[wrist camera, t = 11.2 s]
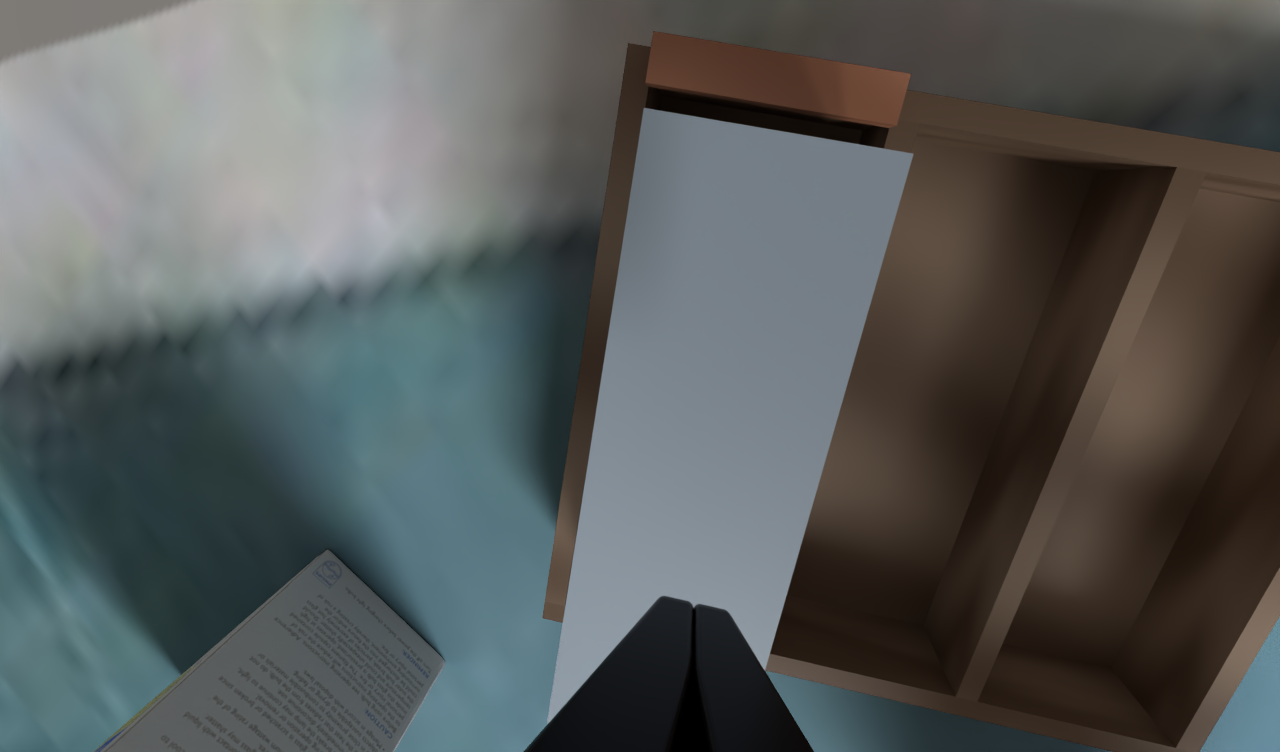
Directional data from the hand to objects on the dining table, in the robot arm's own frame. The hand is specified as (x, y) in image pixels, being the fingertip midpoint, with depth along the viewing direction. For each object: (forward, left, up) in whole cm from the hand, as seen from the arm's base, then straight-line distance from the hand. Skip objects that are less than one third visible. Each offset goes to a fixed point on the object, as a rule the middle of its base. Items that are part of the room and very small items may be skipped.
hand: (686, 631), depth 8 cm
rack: (0, -6, -12) cm, 14 cm away
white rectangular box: (0, 0, -12) cm, 12 cm away
